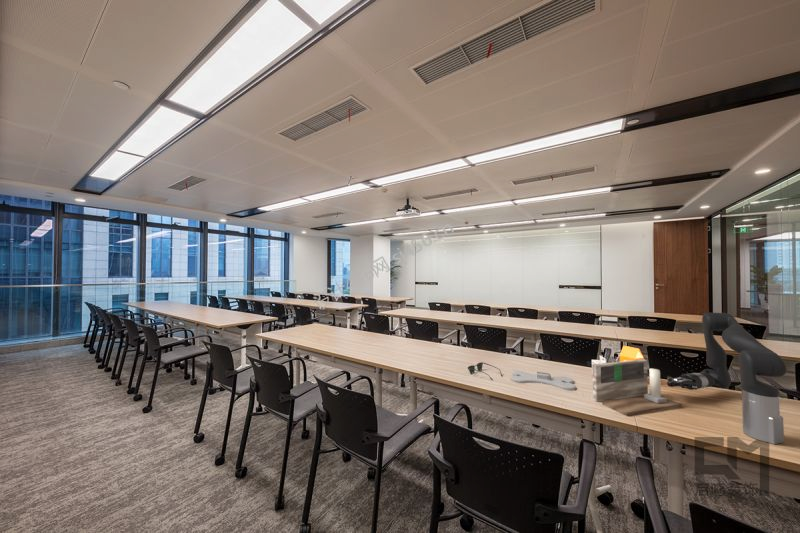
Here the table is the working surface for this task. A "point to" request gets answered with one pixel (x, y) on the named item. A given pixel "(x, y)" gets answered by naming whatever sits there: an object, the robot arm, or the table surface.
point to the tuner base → (625, 388)
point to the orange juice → (630, 354)
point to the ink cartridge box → (598, 362)
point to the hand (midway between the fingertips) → (669, 384)
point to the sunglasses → (479, 368)
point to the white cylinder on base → (654, 386)
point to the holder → (543, 379)
